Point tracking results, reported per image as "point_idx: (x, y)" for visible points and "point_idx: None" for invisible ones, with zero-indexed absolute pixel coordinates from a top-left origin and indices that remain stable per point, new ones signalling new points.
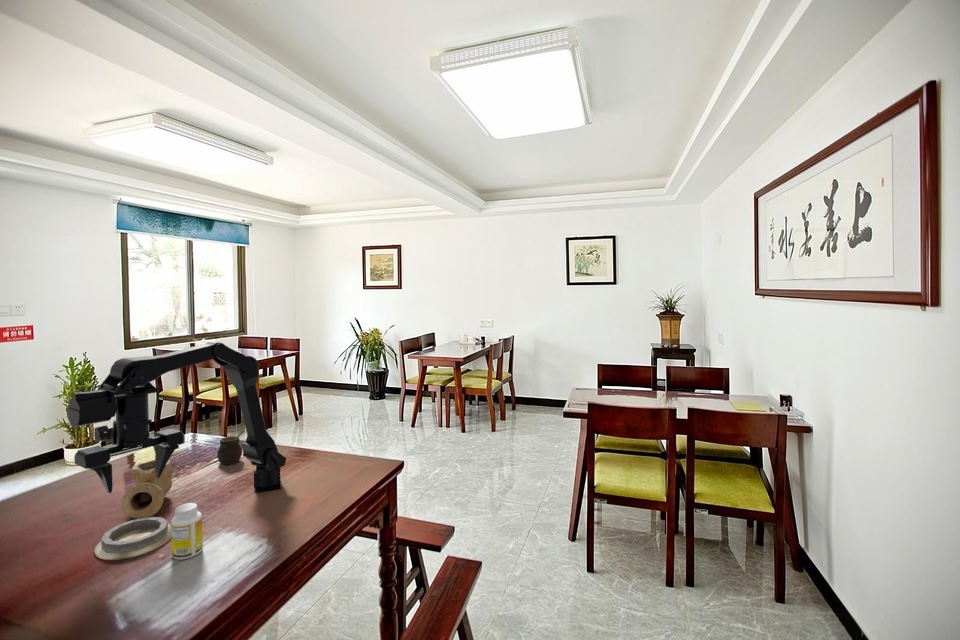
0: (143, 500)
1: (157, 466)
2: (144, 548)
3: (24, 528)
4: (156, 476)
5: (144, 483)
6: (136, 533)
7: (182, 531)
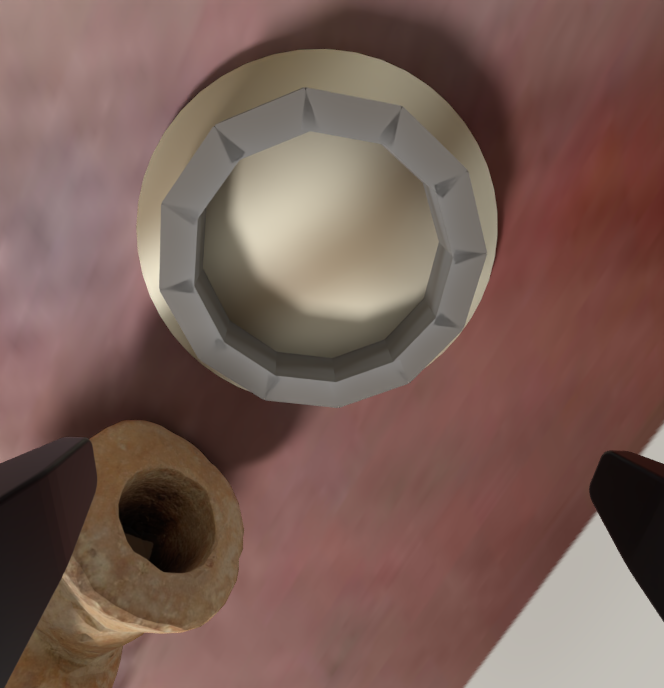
0: (138, 546)
1: (6, 596)
2: (362, 90)
3: (443, 666)
4: (91, 475)
5: (116, 616)
6: (290, 309)
7: None
